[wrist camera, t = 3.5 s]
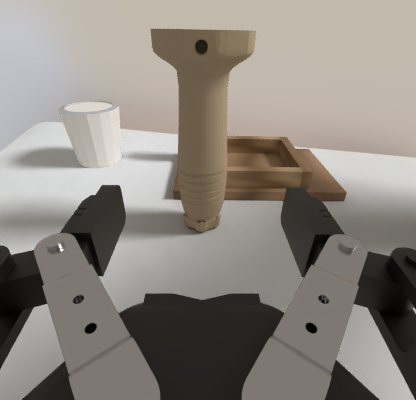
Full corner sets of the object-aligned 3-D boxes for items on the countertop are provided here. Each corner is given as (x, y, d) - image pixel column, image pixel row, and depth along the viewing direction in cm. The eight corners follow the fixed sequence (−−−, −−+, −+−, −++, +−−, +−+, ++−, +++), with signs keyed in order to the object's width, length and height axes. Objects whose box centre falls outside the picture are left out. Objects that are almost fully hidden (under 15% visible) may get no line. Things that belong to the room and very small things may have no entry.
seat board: (307, 155, 38) (320, 97, 34) (343, 200, 28) (370, 126, 24) (182, 154, 38) (180, 95, 33) (174, 199, 28) (169, 123, 23)
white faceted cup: (126, 147, 40) (118, 98, 36) (127, 167, 34) (118, 111, 30) (76, 151, 38) (63, 101, 34) (69, 172, 32) (52, 115, 29)
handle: (238, 241, 22) (260, 30, 14) (163, 238, 22) (142, 28, 14) (235, 209, 26) (251, 30, 18) (171, 206, 26) (159, 29, 18)
